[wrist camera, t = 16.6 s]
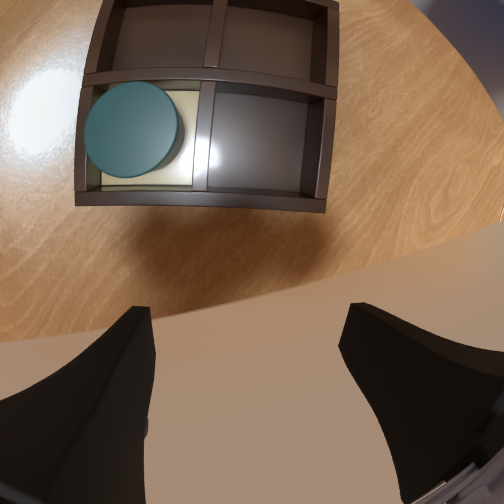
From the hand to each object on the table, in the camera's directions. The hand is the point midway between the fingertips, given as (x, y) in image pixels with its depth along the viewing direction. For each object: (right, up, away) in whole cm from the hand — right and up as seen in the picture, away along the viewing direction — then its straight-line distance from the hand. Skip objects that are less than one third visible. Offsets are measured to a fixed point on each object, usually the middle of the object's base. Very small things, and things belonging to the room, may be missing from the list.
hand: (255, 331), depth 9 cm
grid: (-3, +13, +5) cm, 14 cm away
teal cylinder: (-6, +9, +5) cm, 12 cm away
